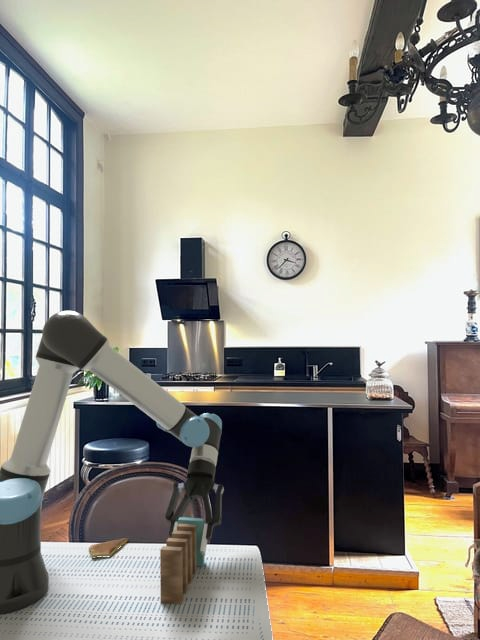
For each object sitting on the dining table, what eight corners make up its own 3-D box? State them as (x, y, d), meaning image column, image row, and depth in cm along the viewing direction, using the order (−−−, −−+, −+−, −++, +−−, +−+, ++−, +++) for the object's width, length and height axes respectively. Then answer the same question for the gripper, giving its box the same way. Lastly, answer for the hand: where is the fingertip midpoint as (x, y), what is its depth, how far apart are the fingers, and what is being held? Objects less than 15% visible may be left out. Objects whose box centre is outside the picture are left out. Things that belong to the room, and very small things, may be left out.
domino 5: (160, 602, 94) (160, 549, 94) (163, 598, 95) (162, 546, 96) (180, 604, 93) (180, 550, 94) (182, 599, 95) (182, 547, 95)
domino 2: (177, 573, 106) (176, 526, 106) (179, 570, 107) (178, 523, 108) (195, 574, 105) (194, 527, 105) (196, 571, 106) (196, 524, 107)
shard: (128, 542, 124) (128, 535, 124) (135, 553, 117) (135, 546, 117) (88, 551, 119) (88, 544, 119) (92, 563, 112) (92, 556, 112)
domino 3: (172, 582, 102) (171, 533, 102) (174, 578, 103) (173, 530, 104) (190, 583, 101) (190, 534, 101) (192, 580, 102) (192, 531, 103)
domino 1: (177, 564, 110) (177, 519, 110) (179, 561, 111) (179, 517, 112) (203, 566, 109) (202, 521, 109) (204, 563, 110) (204, 518, 111)
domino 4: (166, 592, 98) (166, 541, 98) (168, 588, 99) (168, 537, 100) (185, 593, 97) (185, 542, 98) (187, 589, 99) (187, 538, 99)
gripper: (239, 473, 124) (229, 560, 108) (171, 470, 127) (151, 555, 111) (235, 458, 120) (225, 548, 103) (165, 457, 123) (144, 543, 106)
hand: (187, 552), depth 107 cm, fingers open, 7 cm apart
